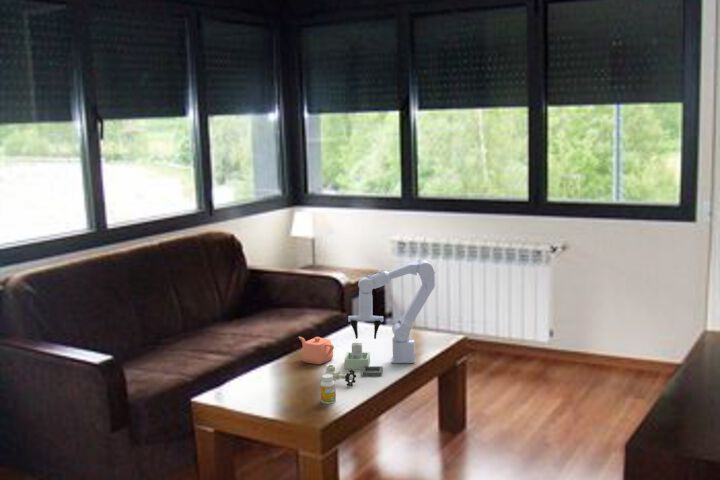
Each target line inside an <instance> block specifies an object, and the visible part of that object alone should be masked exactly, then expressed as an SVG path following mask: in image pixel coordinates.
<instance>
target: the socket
mask: <svg viewBox="0 0 720 480" xmlns="http://www.w3.org/2000/svg"><path fill="white" fill-rule="evenodd" d="M383 369H384V367H383V366H382V365H381V366H375V365H374V366H371V365H369V366H364V368H363V369H362V377H382V375H383Z"/></svg>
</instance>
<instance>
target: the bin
mask: <svg viewBox="0 0 720 480" xmlns="http://www.w3.org/2000/svg"><path fill="white" fill-rule="evenodd" d="M370 354H371V352H370V351H367V352H365V351H364V352H363V351H362V356H363V359H352V351H351V352H350V351H349V352H348V351H347V352H346V354H345V357H344V369H345V370H363V368H364V366H370V363H371V355H370Z"/></svg>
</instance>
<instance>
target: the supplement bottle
mask: <svg viewBox="0 0 720 480" xmlns="http://www.w3.org/2000/svg"><path fill="white" fill-rule="evenodd" d="M321 379H322V381H321V382H320V401H321V402H322V404H326V405H327V404H328V405H329V404H334V403H335V402H336V400H337V396H336V395H337V394H336V380H335V381H333V375H332V374H323V375H322V376H321Z"/></svg>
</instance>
